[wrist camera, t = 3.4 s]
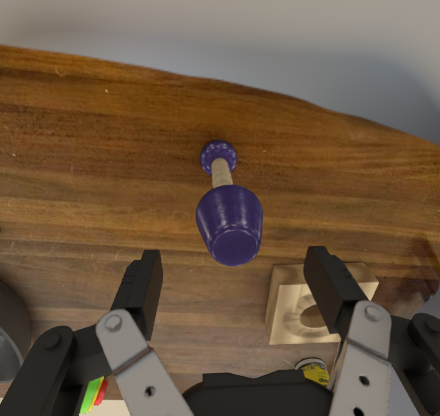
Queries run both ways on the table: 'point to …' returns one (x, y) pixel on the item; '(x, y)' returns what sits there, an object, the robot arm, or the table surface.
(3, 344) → the bowl
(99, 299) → the table surface
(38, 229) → the table surface
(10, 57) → the table surface
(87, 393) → the toy measuring tape
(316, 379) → the pill bottle
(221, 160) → the toy lamp
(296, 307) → the socket base
